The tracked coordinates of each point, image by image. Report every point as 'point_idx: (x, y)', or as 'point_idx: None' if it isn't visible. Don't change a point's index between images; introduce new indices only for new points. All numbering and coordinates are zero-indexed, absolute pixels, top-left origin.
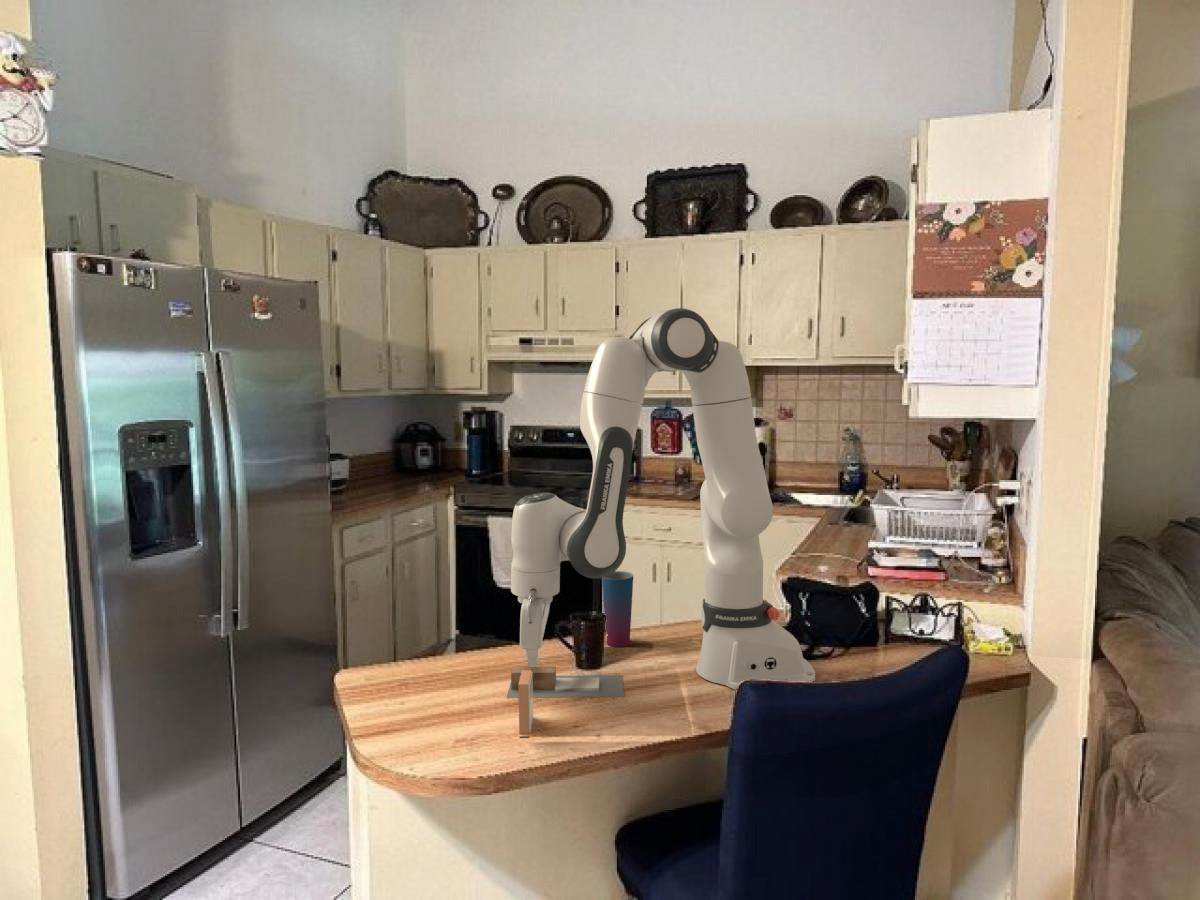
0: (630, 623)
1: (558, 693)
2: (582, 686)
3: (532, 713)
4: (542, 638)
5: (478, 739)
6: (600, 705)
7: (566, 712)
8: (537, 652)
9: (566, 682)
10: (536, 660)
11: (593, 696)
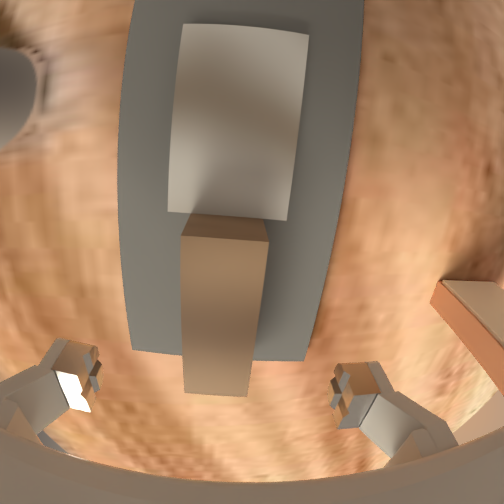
0: None
1: (304, 203)
2: (282, 99)
3: (479, 297)
4: (483, 458)
5: (453, 367)
6: (387, 59)
7: (417, 183)
8: (430, 412)
9: (226, 168)
10: (385, 382)
11: (355, 70)
